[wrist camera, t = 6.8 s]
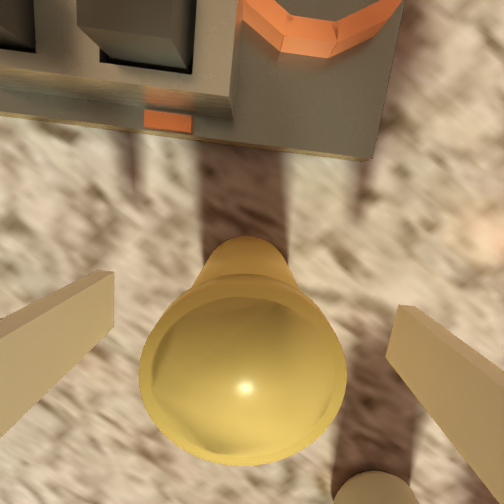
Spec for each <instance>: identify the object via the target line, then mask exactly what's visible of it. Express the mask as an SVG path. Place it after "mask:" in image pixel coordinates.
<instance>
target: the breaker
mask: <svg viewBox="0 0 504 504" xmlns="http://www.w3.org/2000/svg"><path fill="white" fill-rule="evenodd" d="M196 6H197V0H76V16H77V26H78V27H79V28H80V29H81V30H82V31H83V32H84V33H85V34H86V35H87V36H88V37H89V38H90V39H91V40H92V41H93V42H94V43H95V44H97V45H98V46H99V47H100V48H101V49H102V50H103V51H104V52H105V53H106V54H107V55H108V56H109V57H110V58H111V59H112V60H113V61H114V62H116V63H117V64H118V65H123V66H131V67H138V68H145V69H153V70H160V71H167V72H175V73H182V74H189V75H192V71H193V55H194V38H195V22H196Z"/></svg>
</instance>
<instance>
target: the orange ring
mask: <svg viewBox="0 0 504 504" xmlns="http://www.w3.org/2000/svg"><path fill="white" fill-rule="evenodd" d="M401 2H402V0H379V1H378V2H376V3H374V4H372V5H369V6H367V7H365V8H363V9H361V10H359V11H357V12H355V13H353V14H351V15H349V16H347V17H345V18H342V19H340V20H338V21H336V22H335V21H328V20H321V19H314V18H307V17H300V16H293V15H290V14H289V13H288V12H287V11H286V10H285V9H284V8H283V7H281V6H280V5H279V4H278V3H277V2H276V1H275V0H242V4H243V20H244V21H245V22H246V23H248V24H249V25H250V26H251V27H252V28H253V29H254V30H256V31H257V32H258V33H259V34H260V35H261V36H262V37H264V38H265V39H266V40H267V41H268V42H269V43H271V44H272V45H273V46H274V47H275V48H276V49H277V50H279V51H280V52H286V53H293V54H300V55H307V56H314V57H321V58H330V57H332V56H334V55H336V54H338V53H340V52H343V51H345V50H347V49H349V48H351V47H353V46H355V45H357V44H360V43H362V42H364V41H366V40H368V39H370V38H372V37H374V36H375V35H376V34H377V32H378V31H379V30H380V29H381V28H382V26H383V25H384V24H385V23H386V21H387V20H388V19H389V18H390V16H391V15H392V14H393V12H394V11H395V10H396V8H397V7H398V6H399V4H400V3H401Z"/></svg>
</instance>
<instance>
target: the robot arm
mask: <svg viewBox="0 0 504 504" xmlns="http://www.w3.org/2000/svg"><path fill="white" fill-rule="evenodd" d="M113 327H114V272H110V271H102V270H96V271H94V272H92V273H91V274H89V275H87V276H85V277H83V278H81V279H79V280H77V281H75V282H73V283H71V284H69V285H67V286H65V287H63V288H61V289H59V290H57V291H55V292H53V293H51V294H49V295H48V296H46V297H44V298H42V299H40V300H38V301H36V302H34V303H32V304H30V305H28V306H26V307H24V308H22V309H20V310H18V311H16V312H14V313H12V314H10V315H8V316H6V317H4V318H1V319H0V438H1V437H2V436H3V435H4V434H5V433H6V432H7V431H8V430H9V429H10V428H11V427H12V426H13V425H14V424H15V423H16V422H17V421H18V420H19V419H20V418H21V417H22V416H23V415H25V414H26V413H27V412H28V411H29V410H30V409H31V408H32V407H33V406H34V405H35V404H36V403H37V402H38V401H39V400H40V399H41V398H42V397H43V396H44V395H45V394H46V393H47V392H48V391H49V390H50V389H51V388H52V387H53V386H54V385H55V384H56V383H57V382H58V381H59V380H60V379H61V378H62V377H63V376H64V375H65V374H66V373H67V372H68V371H70V370H71V369H72V368H73V367H74V366H75V365H76V364H77V363H78V362H79V361H80V360H81V359H82V358H83V357H84V356H85V355H86V354H87V353H88V352H89V351H90V350H91V349H92V348H93V347H94V346H95V345H96V344H97V343H98V342H99V341H100V340H101V339H102V338H103V337H104V336H105V335H106V334H107V333H108V332H109V331H110V330H111V329H112V328H113ZM385 358H386V359H387V360H388V362H389V363H390V364H391V365H392V367H393V368H394V369H395V371H396V372H397V373H398V374H399V376H400V377H401V378H402V380H403V381H404V382H405V383H406V385H407V386H408V387H409V388H410V390H411V391H412V392H413V394H414V395H415V396H416V397H417V399H418V400H419V401H420V403H421V404H422V405H423V406H424V408H425V409H426V410H427V412H428V413H429V414H430V415H431V417H432V418H433V419H434V420H435V422H436V423H437V424H438V426H439V427H440V428H441V429H442V431H443V432H444V433H445V435H446V436H447V437H448V438H449V440H450V441H451V442H452V444H453V445H454V446H455V447H456V449H457V450H458V451H459V452H460V454H461V455H462V456H463V458H464V459H465V460H466V461H467V463H468V464H469V465H470V467H471V468H472V469H473V470H474V472H475V473H476V474H477V476H478V477H479V478H480V479H481V481H482V482H483V483H484V485H485V486H486V487H487V488H488V490H489V491H490V492H491V493H492V495H493V496H494V497H495V499H496V500H497V501H498V502H499V504H504V371H503V370H501V369H500V368H499V367H497V366H496V365H495V364H493V363H492V362H490V361H489V360H488V359H486V358H485V357H484V356H482V355H481V354H479V353H478V352H477V351H475V350H474V349H473V348H471V347H470V346H468V345H467V344H466V343H464V342H463V341H462V340H460V339H459V338H457V337H456V336H455V335H453V334H452V333H451V332H449V331H448V330H446V329H445V328H444V327H442V326H441V325H440V324H438V323H437V322H435V321H434V320H433V319H431V318H430V317H429V316H427V315H426V314H424V313H423V312H422V311H420V310H419V309H418V308H416V307H415V306H406V305H398V309H397V313H396V317H395V320H394V324H393V328H392V332H391V336H390V340H389V344H388V348H387V352H386V356H385Z"/></svg>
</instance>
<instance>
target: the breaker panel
mask: <svg viewBox="0 0 504 504" xmlns="http://www.w3.org/2000/svg"><path fill="white" fill-rule="evenodd" d="M275 1H276V2H277V3H278V4H279V5H280V6H281V7H283V8H284V9H285V10H286V11H287V12H288V13H289V14H290V15H293V16H300V17H307V18H314V19H321V20H328V21H335V22H336V21H338V20H340V19H342V18H345V17H347V16H349V15H351V14H353V13H355V12H357V11H359V10H361V9H363V8H365V7H367V6H369V5H372V4H374V3H376V2H378V1H379V0H275ZM404 4H405V0H402V2H401V3H400V4H399V6H398V7H397V8H396V10H395V11H394V12H393V14H392V15H391V16H390V18H389V19H388V20H387V21H386V23H385V24H384V25H383V26H382V28H381V29H380V30H379V31H378V32H377V34H376V35H375V36H374V37H372V38H370V39H368V40H366V41H364V42H362V43H360V44H357V45H355V46H353V47H351V48H349V49H347V50H345V51H343V52H340V53H338V54H336V55H334V56H332V57H330V58H321V57H314V56H307V55H300V54H293V53H286V52H280V51H279V50H277V49H276V48H275V47H274V46H273V45H272V44H271V43H269V42H268V41H267V40H266V39H265V38H264V37H262V36H261V35H260V34H259V33H258V32H257V31H256V30H254V29H253V28H252V27H251V26H250V25H249V24H248V23H246V22H245V21H244V20H243V4H242V0H197V6H196V22H195V38H194V55H193V71H192V75H189V74H182V73H175V72H167V71H160V70H153V69H145V68H138V67H131V66H123V65H118V64H117V63H116V62H114V61H113V60H112V59H111V58H110V57H109V56H108V55H107V54H106V53H105V52H104V51H103V50H102V49H101V48H100V47H99V46H98V45H97V44H95V43H94V42H93V41H92V40H91V39H90V38H89V37H88V36H87V35H86V34H85V33H84V32H83V31H82V30H81V29H80V28H79V27H78V26H77V16H76V0H34V19H35V39H36V54H35V53H27V52H20V51H13V50H5V49H0V116H7V117H15V118H23V119H31V120H39V121H46V122H54V123H62V124H70V125H78V126H86V127H94V128H102V129H109V130H117V131H125V132H133V133H141V134H149V135H157V136H164V137H172V138H180V139H188V140H196V141H204V142H212V143H220V144H227V145H235V146H243V147H251V148H259V149H267V150H275V151H282V152H290V153H298V154H306V155H314V156H322V157H330V158H338V159H345V160H353V161H361V162H362V161H366V160H370V159H373V154H374V149H375V144H376V140H377V135H378V130H379V125H380V120H381V115H382V110H383V106H384V101H385V96H386V91H387V86H388V81H389V77H390V72H391V67H392V62H393V57H394V52H395V47H396V43H397V38H398V33H399V28H400V23H401V18H402V14H403V9H404Z"/></svg>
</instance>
